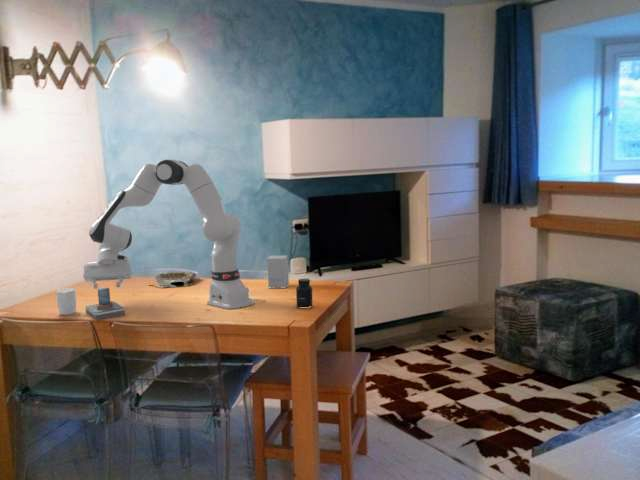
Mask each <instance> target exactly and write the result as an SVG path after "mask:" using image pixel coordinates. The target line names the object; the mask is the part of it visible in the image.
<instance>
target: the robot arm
mask: <svg viewBox="0 0 640 480" xmlns="http://www.w3.org/2000/svg"><path fill="white" fill-rule="evenodd" d="M161 185H171V186H178V185H179V186H180V185H184V186H185V187H186V188H187V191H189V193H190V195H191V198H192V199H193V201H194V203H195V205H196V207H197V210H198V211H199V215H200V219H201V221H202V233H203V236H204V238H205V239H206V240H208V241H210V242H214V243H213V248H212V250H211V254H210V255H211V279H212V280H211V282H210V285H209V297H208V299H209V300H207V301H206V305H210V306H213V307H216V308H217V307H218V308H221V309H226V310H233V309H240V307H241V308H246V307H250V306H252V305H255V304H254V303H255V301H254V300H253V299H252V298H249V291H250V289H249V287H247V286H245V285H244V283H243V282H242V280H241V275H240V271H239V268H238V257H237V252H238V242H239V233H240V230H241V227H242V223H241V220H240V218H239V217H238V216H237V215H235V214H233V213H228V212H227V213H226V212H224V208H223V204H222V197H221V195H220V193H219V191H218V189H217V188H216V185H215V184H214V182H213V180H212V179H211V177H210V175H209V174H208V172H207V171H206V169H205V168H204V167H203V166H202V165H200V164H198V163H197V164H191V165H189V166H188V165H187V163H185V162H183V161H181V160H176V159H162V160H161V161H159V162H158V163H157V164H152V163H147V164H145V165H143V167H142V168H141V169H140V170H139V172H138V173H137V175H136V176H135V177H134V179H133V181H132V183H131V185H130V186H128V187H127V188H125V190H120V191H119V192H118V193H117V194H116V195H115V196H114V197H113V199H112V200H111V201H110V202H109V204H108V205H107V206H106V207H105V208H104V210H103V211H102V213H101V214H100V216H98V218H97V219H96V220H95V221H94V222H93V223H92V224H91V226H90V228H89V231H88V234H89V237H90V239H91V240H92V242H94V243H97V244H99V245H98V246H99V247H98V251H99V253H98V255H97V256H98V257H97V259H98V261H94V262H92V261H91V262H87V263H86V264H84V265H83V276H82V278H83V280H84V281H85V282H88V283H89V282H91V283H92V284H93V289H94V290H98V289H99V284H98V283H96V282H103V281H117V282H116V283H115V286H116V288H121V285H122V283H123V282H124V280H130V279H131V278H132V274H133V273H132V269H131V264H130V261H129V258H128V256H126V255H122V254H119V253H120V252H123V251H125V250H127V249H128V248H129V247H130V246H131V244H132V242H133V241H132V240H133V236H132V233H131V230H130V229H128V228H126V227H122V226H119V225H116V224H114V223H110V222H111V221H112V220H113V218H115V217H116V214H117V213H118V212H119V211H120V210H121V209H123V208H129V207H135V208H136V207H137V208H139V207H145V206H148V205H149V204H151V203H152V201H153V200H154V198H155V197H156V194H157V193H158V190H159V188H160V187H161ZM249 305H250V306H249ZM245 306H246V307H245Z"/></svg>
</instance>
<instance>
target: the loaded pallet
mask: <svg viewBox="0 0 640 480" xmlns="http://www.w3.org/2000/svg"><path fill="white" fill-rule="evenodd" d="M97 297H98V299H97V300H98V303H97V304H98V305H97V309H110V308H111V306H112V302H113V301H112V300H111V294H110V288H109V287H100V288H98V289H97Z"/></svg>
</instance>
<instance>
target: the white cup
mask: <svg viewBox="0 0 640 480" xmlns="http://www.w3.org/2000/svg"><path fill="white" fill-rule="evenodd" d="M76 291H77V290H76V288H73V287H68V288H67V287H66V288H60V289H57V290H55V297H56V303H57V308H58V314H59V315H61V316H68V315H74V314H76V312H77V295H76V294H77V292H76Z"/></svg>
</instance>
